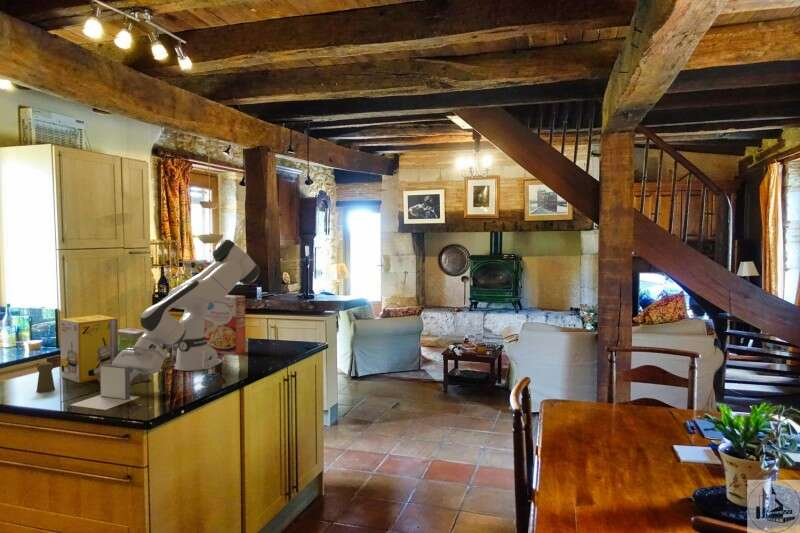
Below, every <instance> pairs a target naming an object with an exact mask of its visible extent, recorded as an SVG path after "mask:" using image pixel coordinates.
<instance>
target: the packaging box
mask: <svg viewBox="0 0 800 533" xmlns="http://www.w3.org/2000/svg"><path fill="white" fill-rule="evenodd" d="M118 330H119V318H117V317H112V316H107V315H102V314H97V315H87V316H79V317H78V316H77V317H67V318H60V319H59V335H60V337H59V338H60V339H59V340H60V342H59V343H60V344H59V345H60V376H61V378H64V379H67V380H70V381H73V382H76V383H77V384H78V383H85V382H90V381H95V380H96V381H97V377H98V376H99V374H100V365H102V364H111V365H112V362H113V360H114V359H115V358H116V356H117V355H118Z"/></svg>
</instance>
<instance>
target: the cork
mask: <svg viewBox="0 0 800 533" xmlns="http://www.w3.org/2000/svg"><path fill="white" fill-rule="evenodd" d="M36 368H37V372H38V379H37V385H36V393H37V394H38V393H39V394H44V393H46V394H47V393H50V392H53V391H56V389H55V388H56V387H55V382H54V377H53V370H54V364H53V362H47V361H44V362H41V363H38V364H37V367H36Z"/></svg>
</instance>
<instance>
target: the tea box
mask: <svg viewBox="0 0 800 533" xmlns="http://www.w3.org/2000/svg"><path fill="white" fill-rule="evenodd" d="M144 330H145V329H140V328H139V329H138V328H131V327H127V328H122V329H118V354H119V353H120V352H121V351H122V350H124V349H126V348H133V347H134V345H135V344H136V342H137V341H138V339H139V338H140V337H141V336H142V335H143V333H144Z"/></svg>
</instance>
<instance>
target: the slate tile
mask: <svg viewBox="0 0 800 533" xmlns="http://www.w3.org/2000/svg"><path fill="white" fill-rule="evenodd" d="M99 384H100V386H99V387H100V388H99V389H100V390H99V391H100V395H101V397H107V398H115V399H123V400H128V399H130V396H131V384H130V366H121V365H111V364H102V365H100V382H99Z"/></svg>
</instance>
